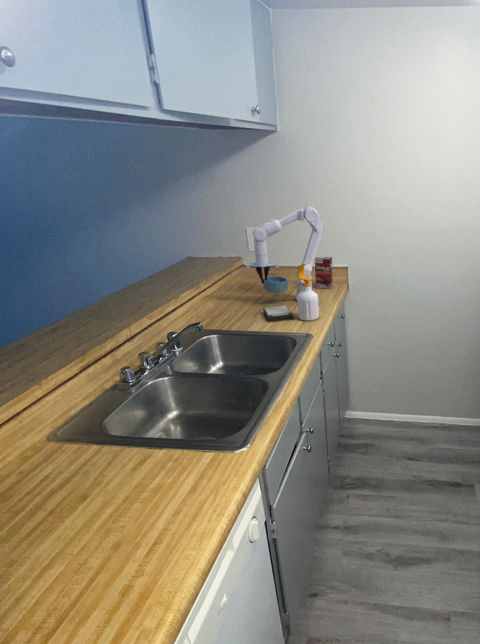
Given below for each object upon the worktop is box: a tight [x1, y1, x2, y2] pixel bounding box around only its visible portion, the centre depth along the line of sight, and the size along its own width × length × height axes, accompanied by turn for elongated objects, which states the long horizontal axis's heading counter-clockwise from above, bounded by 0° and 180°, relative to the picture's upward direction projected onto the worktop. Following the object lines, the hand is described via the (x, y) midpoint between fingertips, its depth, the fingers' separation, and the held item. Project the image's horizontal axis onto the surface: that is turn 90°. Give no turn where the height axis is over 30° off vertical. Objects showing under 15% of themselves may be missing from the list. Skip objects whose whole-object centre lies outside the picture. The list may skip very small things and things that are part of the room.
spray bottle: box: [296, 262, 320, 322], centre depth 207 cm, size 9×9×25 cm
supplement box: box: [314, 256, 334, 290], centre depth 253 cm, size 9×5×16 cm, turn 81°
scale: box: [262, 305, 294, 323], centre depth 214 cm, size 13×11×3 cm
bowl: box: [262, 275, 289, 293], centre depth 228 cm, size 11×11×5 cm
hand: (264, 282), depth 227 cm, fingers closed on bowl
